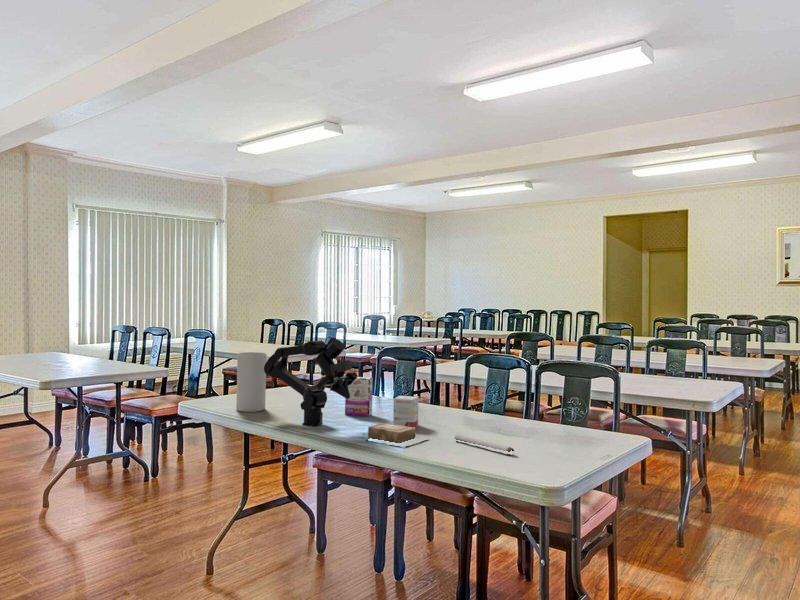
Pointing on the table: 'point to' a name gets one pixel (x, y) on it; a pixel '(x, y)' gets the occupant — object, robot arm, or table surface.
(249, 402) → the cylinder vase
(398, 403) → the ink box
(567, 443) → the table surface
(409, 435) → the brown cardboard box
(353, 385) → the candy bar box
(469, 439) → the tube
